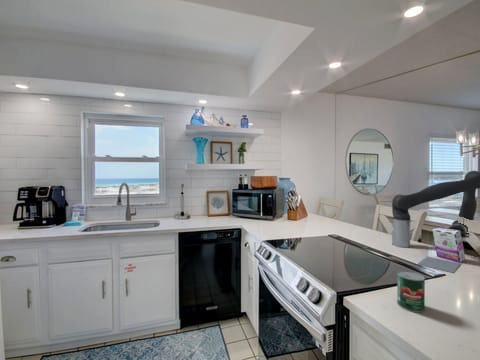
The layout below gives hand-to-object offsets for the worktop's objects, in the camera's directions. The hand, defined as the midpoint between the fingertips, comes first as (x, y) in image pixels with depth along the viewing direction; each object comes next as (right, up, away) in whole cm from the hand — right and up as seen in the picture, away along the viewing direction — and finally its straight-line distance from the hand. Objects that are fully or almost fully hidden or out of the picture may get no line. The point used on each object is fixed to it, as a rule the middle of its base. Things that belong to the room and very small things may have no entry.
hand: (450, 235), depth 130 cm
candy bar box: (+1, -13, +1) cm, 13 cm away
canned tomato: (-55, -14, -46) cm, 74 cm away
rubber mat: (-12, -13, -7) cm, 19 cm away
